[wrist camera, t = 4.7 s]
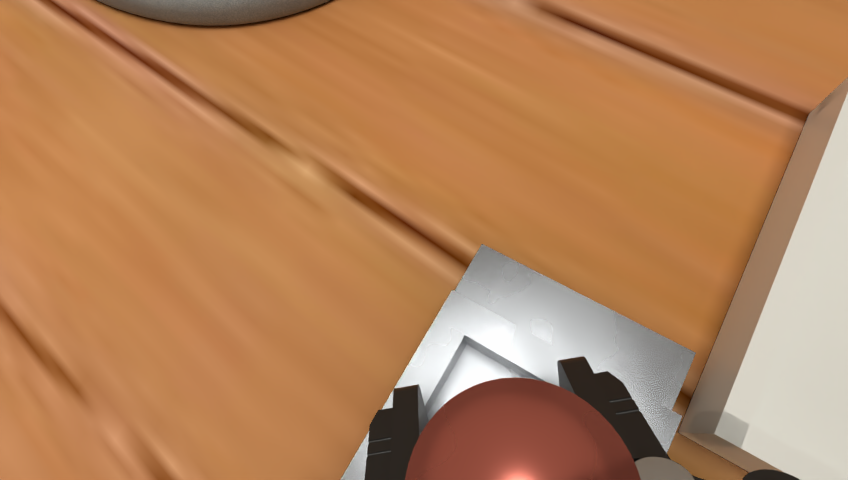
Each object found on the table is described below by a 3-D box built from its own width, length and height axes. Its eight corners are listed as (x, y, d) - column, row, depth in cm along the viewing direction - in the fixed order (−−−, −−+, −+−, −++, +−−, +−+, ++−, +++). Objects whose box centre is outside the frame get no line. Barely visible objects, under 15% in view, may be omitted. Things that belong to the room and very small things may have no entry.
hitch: (482, 250, 21) (482, 223, 18) (687, 355, 19) (723, 343, 16) (296, 566, 18) (262, 593, 15) (520, 748, 15) (529, 822, 12)
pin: (478, 381, 18) (474, 336, 9) (577, 440, 17) (686, 458, 8) (424, 480, 17) (359, 544, 8) (525, 550, 16) (582, 715, 7)
